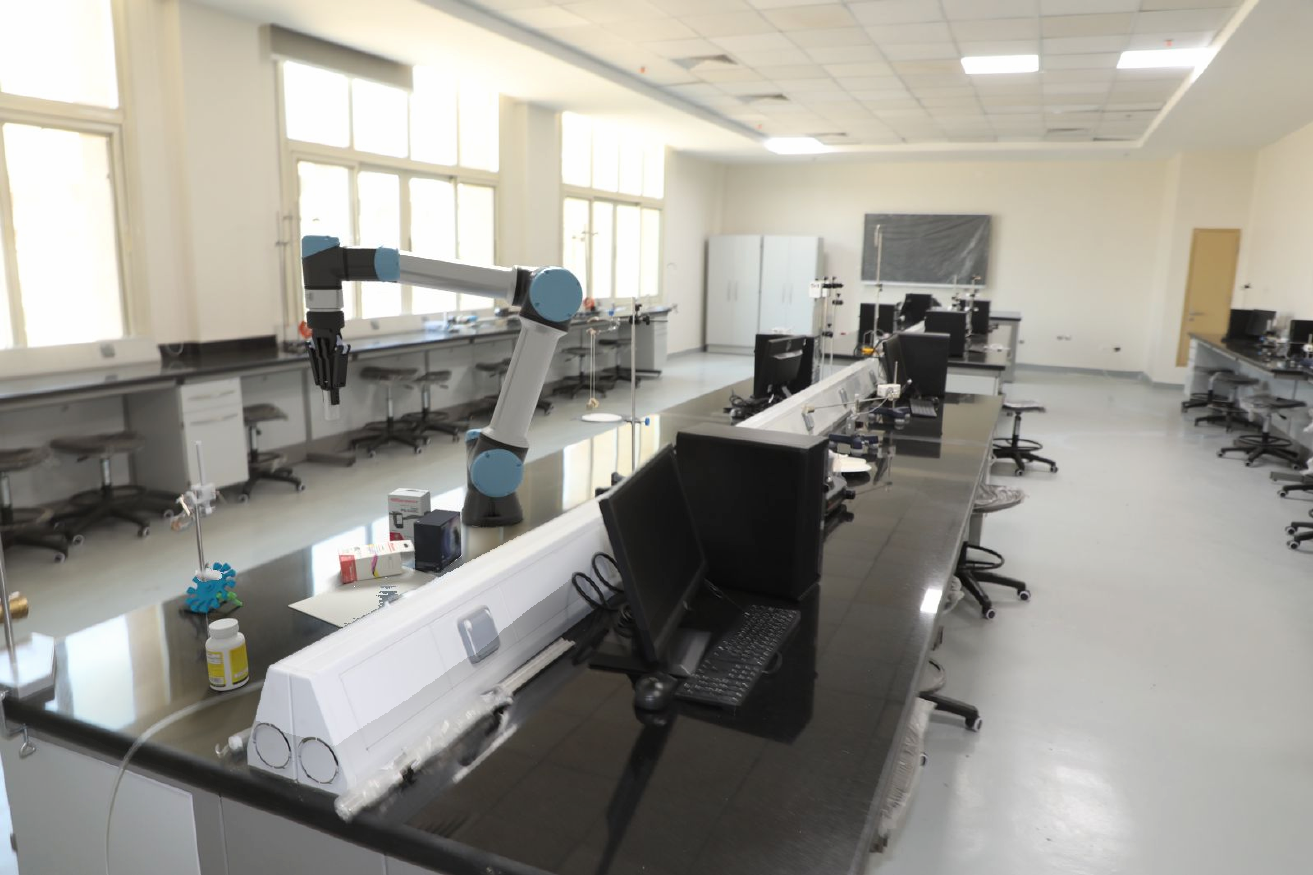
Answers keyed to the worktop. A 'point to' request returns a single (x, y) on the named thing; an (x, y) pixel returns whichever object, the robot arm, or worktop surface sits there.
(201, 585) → the gear
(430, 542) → the small box
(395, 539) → the ink box
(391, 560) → the ink cartridge box
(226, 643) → the supplement bottle
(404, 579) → the mat
